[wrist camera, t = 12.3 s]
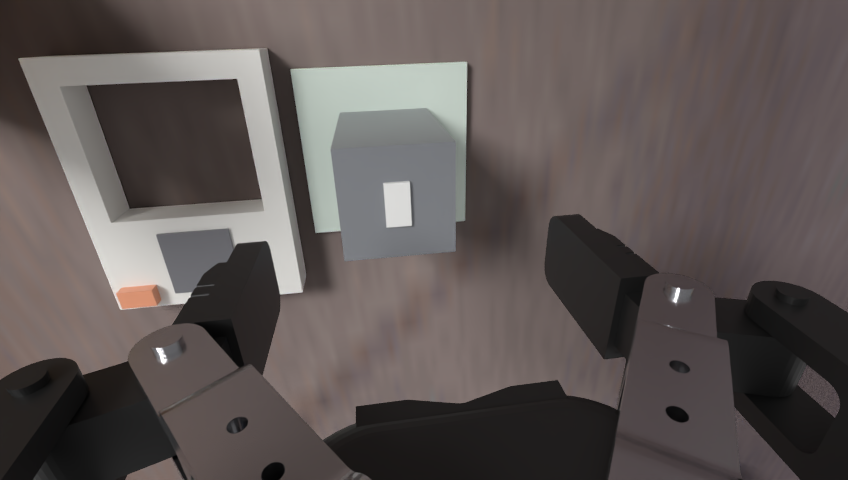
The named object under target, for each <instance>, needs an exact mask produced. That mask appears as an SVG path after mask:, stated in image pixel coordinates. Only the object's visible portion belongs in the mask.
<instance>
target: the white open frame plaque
mask: <svg viewBox="0 0 848 480" xmlns="http://www.w3.org/2000/svg"><path fill="white" fill-rule="evenodd" d="M18 60H19V62H20V64H21V67H22V69H23V72H24V74H25V77H26V79H27V82H28V84H29V87H30V89H31V91H32V94H33V96H34V99H35V101H36V104H37V106H38V109H39V111H40V114H41V116H42V119H43V121H44V123H45V126H46V128H47V131H48V133H49V136H50V138H51V141H52V143H53V146H54V148H55V150H56V153H57V155H58V158H59V160H60V163H61V165H62V168H63V170H64V173H65V175H66V177H67V180H68V182H69V185H70V187H71V190H72V192H73V195H74V197H75V200H76V202H77V204H78V207H79V209H80V212H81V214H82V217H83V219H84V222H85V224H86V227H87V229H88V232H89V234H90V236H91V239H92V241H93V244H94V246H95V249H96V251H97V254H98V256H99V259H100V261H101V263H102V266H103V268H104V271H105V273H106V276H107V278H108V281H109V283H110V286H111V288H112V290H113V293H114V295H115V298H116V300H117V303H118V305H119V308H120V310H123V309H134V308H144V307H155V306H165V305H176V304H185V303H186V302H187V300H188V298H190V297H191V294H192V292H193V290H194V289H195V288H197V284H198V282H199V281H200V279H201V277H202V276H203V274H204V273H205V272H207V271H208V270H209V269H211V268H212V267H213V266H215V265H216V264H217V263H223V262H227V261H228V259H229V257H230V255H231V253H232V252H233V250H234V248H235V246H236V245H237V244H238V243H248V242H260V241H267V242H268V244H269V247H270V250H271V255H272V259H273V264H274V269H275V273H276V278H277V282H278V287H279V292H280V294H291V293H301V292H303V289H304V284H305V280H306V269H305V264H304V258H303V252H302V246H301V240H300V235H299V229H298V223H297V217H296V211H295V206H294V200H293V194H292V188H291V182H290V177H289V171H288V165H287V159H286V153H285V147H284V142H283V136H282V130H281V124H280V118H279V113H278V107H277V101H276V95H275V89H274V84H273V78H272V72H271V66H270V60H269V55H268V49H267V48H254V49H227V50H199V51H171V52H144V53H116V54H88V55H61V56H41V57H27V58H18ZM220 79H237V80H238V85H239V90H240V95H241V100H242V104H243V109H244V114H245V119H246V124H247V129H248V134H249V138H250V143H251V148H252V153H253V158H254V163H255V167H256V172H257V177H258V182H259V187H260V192H261V197H262V199H256V200H242V201H228V202H215V203H201V204H187V205H173V206H159V207H145V208H132V209H130V208H129V205H128V202H127V199H126V197H125V194H124V191H123V188H122V185H121V182H120V180H119V177H118V174H117V171H116V168H115V165H114V162H113V160H112V157H111V154H110V151H109V148H108V145H107V143H106V140H105V137H104V134H103V131H102V128H101V126H100V123H99V120H98V117H97V114H96V111H95V109H94V106H93V103H92V100H91V97H90V94H89V91H88V89H87V86H86V85H105V84H128V83H151V82H174V81H197V80H220Z"/></svg>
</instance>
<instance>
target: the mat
mask: <svg viewBox="0 0 848 480" xmlns="http://www.w3.org/2000/svg"><path fill="white" fill-rule="evenodd" d="M290 71H291V78H292V84H293V91H294V97H295V104H296V110H297V116H298V123H299V129H300V136H301V142H302V149H303V155H304V162H305V168H306V175H307V181H308V188H309V194H310V201H311V207H312V214H313V220H314V227H315V233H322V232H335V231H341V229H340V221H339V213H338V205H337V197H336V189H335V181H334V173H333V165H332V157H331V145H332V141H333V137H334V133H335V129H336V125H337V122H338V118H339V114H340V113H341V112H360V111H379V110H398V109H417V108H427V109H428V111H429V112H430V113H431V114H432V115H433V116H434V117H435V118H436V120H437V121H438V122H439V123H440V124H441V125H442V126H443V128H444V129H445V130H446V131H447V132H448V133H449V134H450V135H451V137H452V138H453V139H454V140H455V141H456V222H457V221H465V193H466V115H467V62H445V63H421V64H397V65H373V66H349V67H325V68H300V69H290Z"/></svg>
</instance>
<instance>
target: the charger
mask: <svg viewBox="0 0 848 480" xmlns="http://www.w3.org/2000/svg"><path fill="white" fill-rule="evenodd" d="M331 157H332V165H333V173H334V181H335V189H336V197H337V205H338V213H339V221H340V229H341V237H342V245H343V253H344V261H353V260H364V259H376V258H387V257H398V256H409V255H420V254H432V253H443V252H454V251H456V141H455V140H454V139H453V138H452V137H451V135H450V134H449V133H448V132H447V131H446V130H445V129H444V128H443V126H442V125H441V124H440V123H439V122H438V121H437V120H436V118H435V117H434V116H433V115H432V114H431V113H430V112H429V111H428V109H427V108H417V109H398V110H379V111H360V112H341V113H340V114H339V118H338V122H337V125H336V129H335V133H334V137H333V141H332V145H331Z"/></svg>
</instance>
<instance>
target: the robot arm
mask: <svg viewBox="0 0 848 480" xmlns="http://www.w3.org/2000/svg"><path fill="white" fill-rule="evenodd" d="M545 275H546V279H547V281H548V284H549V285H550V287H551V288H552V289H553V291H554V292H555V293H556V295H557V296H558V297H559V299H560V300H561V301H562V303H563V304H564V306H565V307H566V308H567V310H568V311H569V312H570V314H571V315H572V316H573V318H574V319H575V320H576V322H577V323H578V324H579V326H580V327H581V329H582V330H583V331H584V333H585V334H586V335H587V337H588V338H589V339H590V341H591V342H592V343H593V345H594V346H595V348H596V349H597V350H598V352H599V353H600V354H601V356H602V357H603V358H604V359H611V358H619V357H625V359H626V364H625V368H624V372H623V377H622V382H621V387H620V392H619V396H618V401H617V406H616V409H614V408H612V407H610V406H608V405H605V404H602V403H599V402H596V401H593V400H589V399H585V398H580V397H574V396H566V394H565V392H564V391H563V389H562V387H561V385H560V383H559V382H558V380H555V381H547V382H540V383H532V384H524V385H517V386H510V387H507V388H504V389H502V390H499V391H496V392H493V393H491V394H488V395H485V396H483V397H480V398H477V399H474V400H472V401H469V402H466V403H461V404H459V403H443V402H430V401H417V400H402V401H395V402H387V403H379V404H372V405H364V406H356V424H353V425H350V426H348V427H346V428H344V429H342V430H339V431H337V432H335V433H334V434H332V435H330V436H329V437H327V438H326V439H324V440H322V439H321V438H320V437H319V436H318V435H317V434H316V433H315V432H314V430H313V429H312V428H311V427H310V426H309V425H308V424H307V423H306V422H305V421H304V420H303V419H302V418H301V417H300V416H299V414H298V413H297V412H296V411H295V410H294V409H293V408H292V407H291V406H290V405H289V404H288V403H287V402H286V401H285V400H284V398H283V397H282V396H281V395H280V394H279V393H278V392H277V391H276V390H275V389H274V388H273V387H272V386H271V385H270V384H269V382H268V381H267V380H266V379H265V378H264V377H263V376H262V375H263V371H264V368H265V364H266V360H267V357H268V353H269V349H270V345H271V342H272V338H273V334H274V331H275V327H276V323H277V319H278V316H279V312H280V292H279V287H278V282H277V278H276V273H275V269H274V264H273V259H272V255H271V250H270V247H269V244H268V242H267V241H260V242H248V243H238V244H237V245H236V246H235V248H234V250H233V252H232V253H231V255H230V257H229V259H228V261H227V262H223V263H217V264H216V265H215V266H213V267H212V268H211V269H209V270H208V271H207V272H205V273H204V274H203V276H202V277H201V279H200V281H199V282H198V284H197V288H195V289H194V290H193V292H192V294H191V297H190V298H188V300H187V302H186V303H185V305H184V307H183V308H182V310H181V311H180V313H179V315H178V316H177V318H176V320H175V321H174V323H173V324H172V325H171V326H168V327H164V328H162V329H159V330H157V331H155V332H152V333H151V334H149V335H147V336H145V337H144V338H143V339H141V340H140V341H139V342H138V343H136V344H135V345H134V347H133V348H132V349H131V351H130V352H129V355H128V361H127V362H124V363H121V364H118V365H115V366H112V367H108V368H105V369H102V370H98V371H95V372H92V373H88V374H85V375H82V373H81V371H80V369H79V367H78V365H77V363H76V362H75V361H73V360H71V359H67V358H54V359H48V360H43V361H40V362H36V363H33V364H30V365H28V366H25V367H23V368H21V369H19V370H17V371H15V372H13V373H11V374H9V375H7V376H6V377H4V378H3V379H1V380H0V480H125V479H126V477H127V474H130V473H132V472H135V471H138V470H140V469H143V468H145V467H148V466H150V465H153V464H155V463H158V462H160V461H163V460H166V459H168V458H171V459H172V461H173V463H174V465H175V467H176V468H177V470H178V472H179V474H180V476H181V478H182V480H742V477H741V472H740V463H739V452H738V441H737V430H736V419H735V409H734V407H735V408H736V409H737V410H738V411H739V412H740V414H741V415H742V416H743V417H744V418H745V419H746V420H747V421H748V422H749V423H750V425H751V426H752V427H753V428H754V429H755V430H756V431H757V432H758V433H759V434H760V436H761V437H762V438H763V439H764V440H765V441H766V442H767V443H768V444H769V446H770V447H771V448H772V449H773V450H774V451H775V452H776V453H777V454H778V455H779V457H780V458H781V459H782V460H783V461H784V462H785V463H786V464H787V465H788V466H789V468H790V469H791V470H792V471H793V472H794V473H795V474H796V475H797V476H798V478H799V479H800V480H848V313H847V312H846V311H844V310H843V309H841V308H839V307H838V306H836V305H835V304H833V303H831V302H830V301H828V300H827V299H825V298H823V297H822V296H820V295H818V294H817V293H815V292H813V291H811V290H808V289H806V288H803V287H800V286H797V285H793V284H790V283H785V282H778V281H762V282H758V283H755V284H754V285H753V286H752V288H751V291H750V293H749V296H748V299H747V300H738V299H726V298H715V296H714V293H713V292H712V290H711V289H710V288H709V287H708V286H706V285H705V284H703V283H702V282H700V281H698V280H695V279H693V278H690V277H687V276H684V275H679V274H673V273H659V272H657V271H656V270H655V269H654V268H653V267H651V266H650V265H649V264H648V263H647V262H645V261H644V260H643V259H642V258H640V257H639V256H638V255H637V254H634V252H633V251H632V250H631V249H630V248H628V247H625V244H623V243H622V242H621V241H620V240H619V239H617V238H616V237H615V236H613V235H611V234H609V233H607V232H604V231H602V230H600V229H596V228H595V227H594V226H593V225H592V224H590V223H589V222H588V221H587V220H586V219H585V218H583V217H582V216H581V215H579V214H575V215H564V216H554V217H552V218H551V220H550V223H549V228H548V238H547V247H546V256H545ZM806 365H808V366H810V367H811V368H812V369H813V370H815V371H816V372H817V373H818V374H819V375H821V376H822V377H823V378H824V379H826V380H827V381H828V382H829V383H830V384H831V385H832V386H833V387H834V388H835V390H836V392H837V394H838V396H839V399H840V410H839V412H838V414H837V416H836V417H835V418H834V417H833V416H832V415H831V414H830V413H828V412H827V411H826V410H825V409H824V408H823V407H822V406H820V405H819V404H818V403H817V402H816V401H815V400H814V399H813V398H811V397H810V396H809V395H808V394H807V393H806V392H805V391H803V390H802V389H801V388H800V387H799V386H798V385H797V384H798V382H799V380H800V378H801V376H802V374H803V372H804V369H805V367H806Z"/></svg>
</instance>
